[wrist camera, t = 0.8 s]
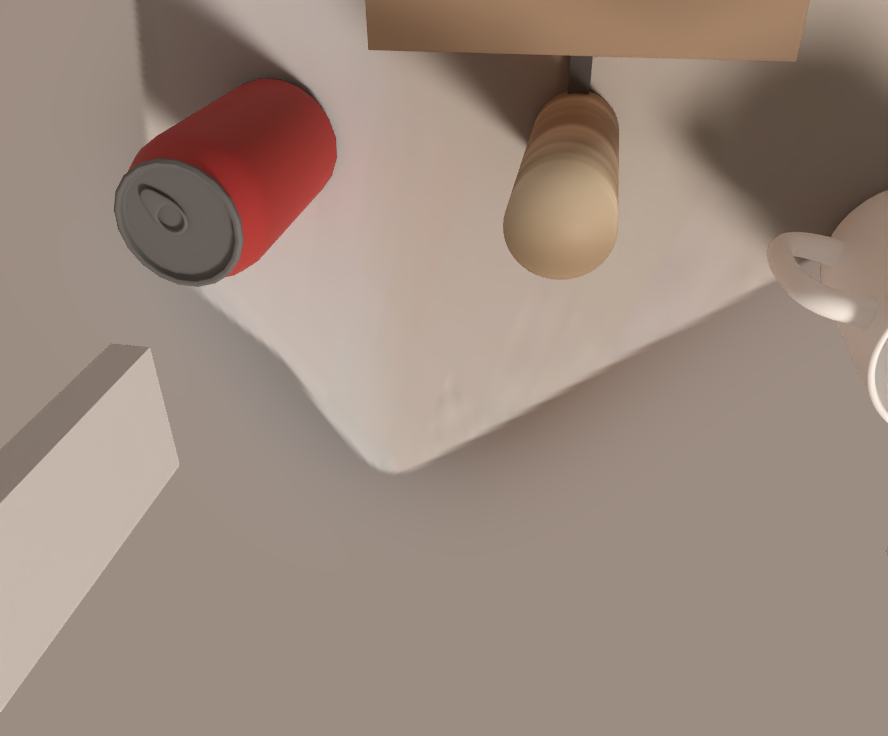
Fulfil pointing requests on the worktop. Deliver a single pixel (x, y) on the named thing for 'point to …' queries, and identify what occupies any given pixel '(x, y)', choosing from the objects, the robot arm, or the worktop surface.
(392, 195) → the worktop surface
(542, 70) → the worktop surface
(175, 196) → the beer can
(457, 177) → the worktop surface
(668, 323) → the worktop surface
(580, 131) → the tethered cylinder
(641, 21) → the cubby shelf
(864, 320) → the cup
